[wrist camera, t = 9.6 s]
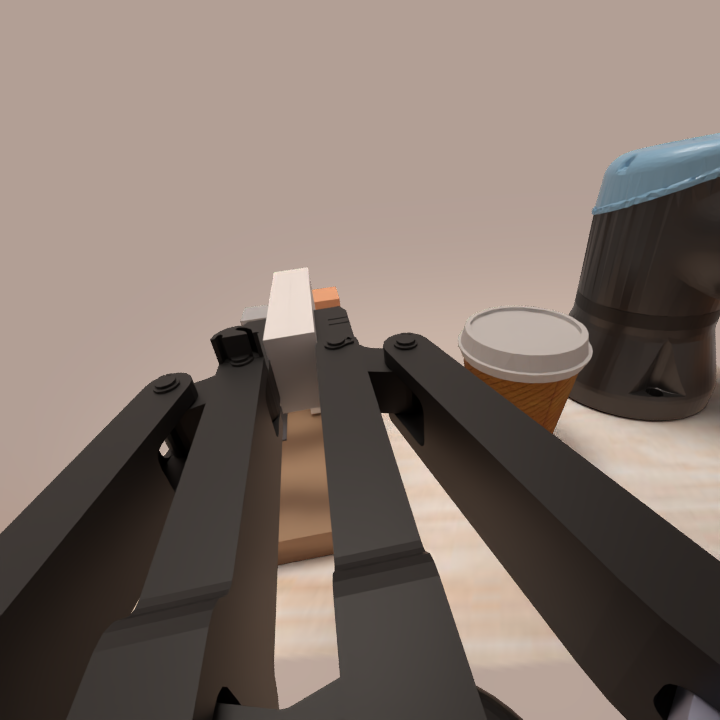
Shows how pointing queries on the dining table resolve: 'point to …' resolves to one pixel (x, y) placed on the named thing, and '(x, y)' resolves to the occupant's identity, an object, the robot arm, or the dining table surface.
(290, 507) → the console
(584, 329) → the disposable coffee cup
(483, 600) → the dining table surface
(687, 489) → the dining table surface
